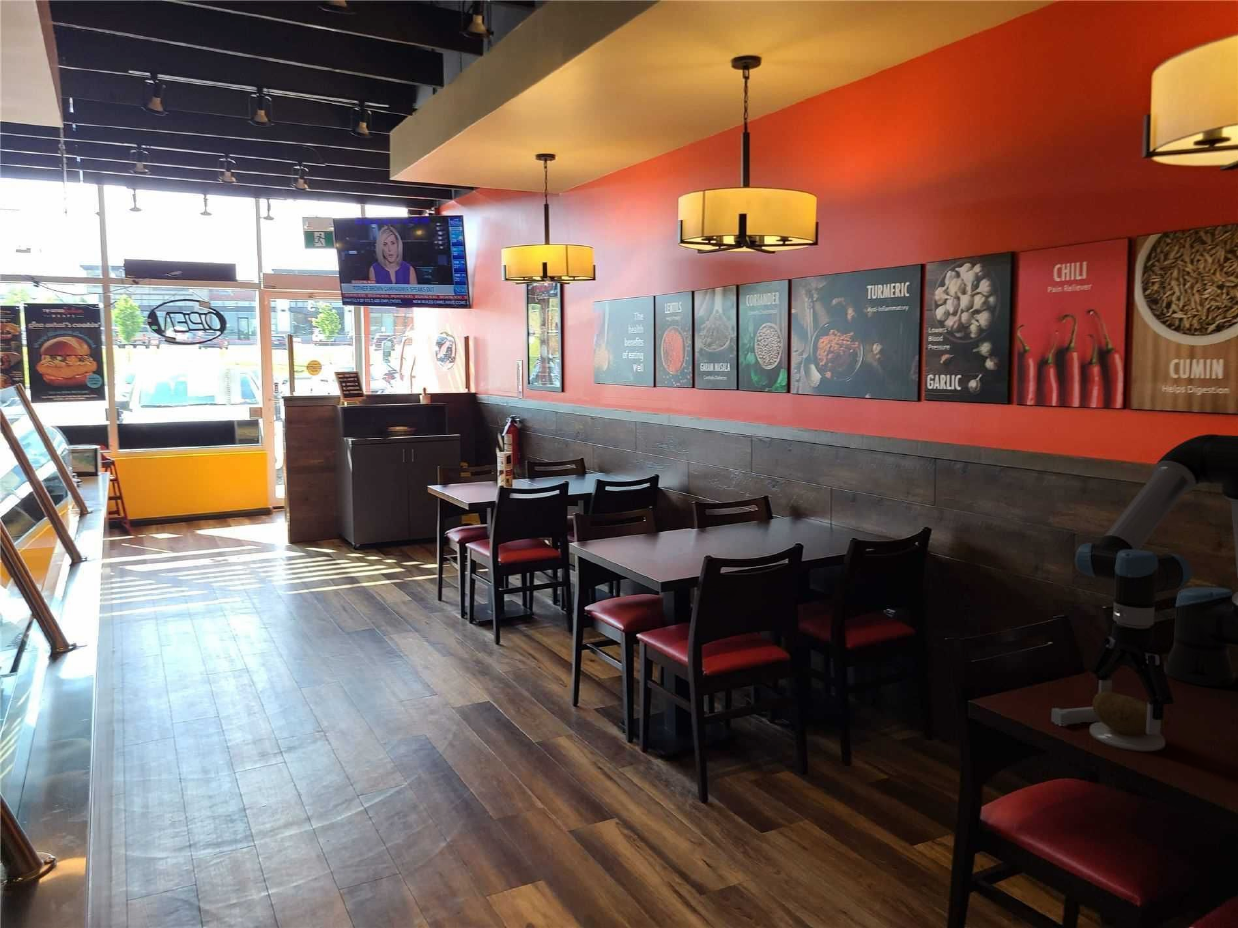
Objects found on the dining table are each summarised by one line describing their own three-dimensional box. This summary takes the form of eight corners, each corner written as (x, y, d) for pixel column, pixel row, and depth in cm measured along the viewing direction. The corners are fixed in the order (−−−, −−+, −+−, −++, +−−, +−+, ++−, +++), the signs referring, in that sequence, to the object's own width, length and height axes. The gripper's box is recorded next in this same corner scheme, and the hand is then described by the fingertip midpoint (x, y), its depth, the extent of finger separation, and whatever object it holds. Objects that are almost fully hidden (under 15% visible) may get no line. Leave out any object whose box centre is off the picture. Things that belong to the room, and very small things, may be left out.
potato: (1157, 749, 178) (1160, 712, 177) (1084, 729, 188) (1085, 693, 187) (1172, 736, 185) (1174, 700, 184) (1100, 717, 195) (1102, 683, 194)
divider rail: (1142, 713, 200) (1142, 700, 200) (1152, 718, 197) (1153, 705, 197) (1051, 721, 195) (1051, 708, 195) (1060, 726, 193) (1061, 713, 192)
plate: (1129, 722, 195) (1130, 717, 195) (1181, 748, 181) (1181, 743, 181) (1074, 727, 192) (1075, 722, 192) (1123, 754, 178) (1123, 749, 178)
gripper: (1075, 609, 196) (1071, 700, 198) (1165, 641, 171) (1159, 745, 173) (1104, 607, 197) (1100, 698, 199) (1198, 639, 173) (1191, 742, 175)
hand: (1127, 720), depth 186 cm, fingers open, 13 cm apart
